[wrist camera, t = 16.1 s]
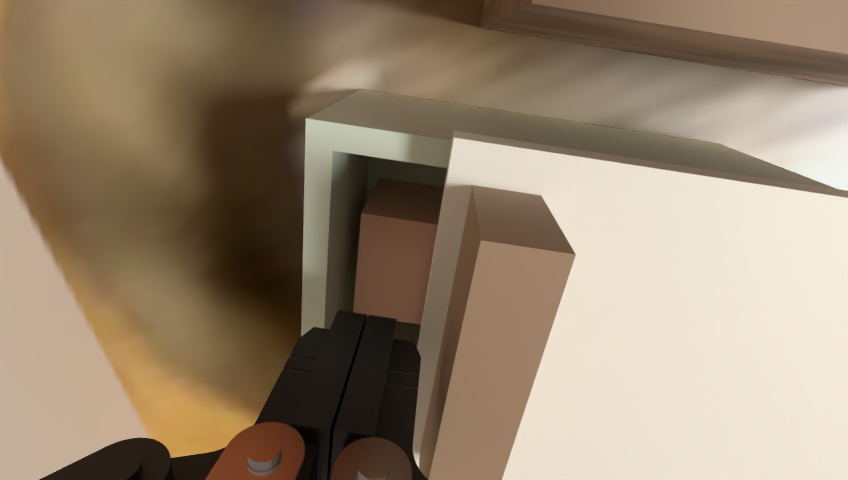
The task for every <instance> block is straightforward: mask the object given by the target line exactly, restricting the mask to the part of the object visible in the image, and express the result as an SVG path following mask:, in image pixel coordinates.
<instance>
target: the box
mask: <svg viewBox="0 0 848 480" xmlns="http://www.w3.org/2000/svg"><path fill="white" fill-rule="evenodd" d="M454 131H459V132H466V133H472V134H479V135H485V136H492V137H498V138H505V139H511V140H518V141H524V142H531V143H537V144H544V145H551V146H557V147H564V148H570V149H577V150H583V151H590V152H596V153H603V154H609V155H616V156H622V157H629V158H636V159H642V160H649V161H655V162H662V163H668V164H675V165H681V166H688V167H694V168H701V169H707V170H714V171H721V172H727V173H734V174H740V175H747V176H753V177H760V178H766V179H773V180H779V181H786V182H792V183H799V184H806V185H812V186H819V187H825V188H832V189H836V188H833V187H830V186H828V185H825V184H823V183H820V182H817V181H815V180H812V179H810V178H807V177H804V176H802V175H799V174H797V173H794V172H791V171H789V170H786V169H784V168H781V167H778V166H776V165H773V164H771V163H768V162H765V161H763V160H760V159H757V158H755V157H752V156H750V155H747V154H744V153H742V152H739V151H737V150H734V149H731V148H729V147H726V146H724V145H721V144H715V143H709V142H702V141H696V140H689V139H683V138H676V137H669V136H663V135H656V134H650V133H643V132H637V131H630V130H624V129H617V128H611V127H604V126H598V125H591V124H585V123H578V122H572V121H565V120H559V119H552V118H546V117H539V116H533V115H526V114H520V113H513V112H507V111H500V110H493V109H487V108H480V107H474V106H467V105H461V104H454V103H448V102H441V101H435V100H428V99H422V98H415V97H409V96H402V95H396V94H389V93H383V92H376V91H370V90H363V89H360V90H358V91H356V92H354V93H352V94H350V95H348V96H346V97H345V98H343V99H341V100H339V101H337V102H335V103H333V104H332V105H330V106H328V107H326V108H324V109H322V110H320V111H318V112H317V113H315V114H313V115H311V116H309V117H307V118H306V127H305V176H304V226H303V275H302V324H301V336H303V335H304V334H305V333H306V332H308V331H309V330H310V329H312V328H313V327H318V328H325V329H330V328H331V325H332V323H333V321H334V318H335V316H336V314H337V312H338V310H342V311H349V312H353V308H354V295H355V283H356V271H357V259H358V247H359V235H360V223H361V213H362V211H363V209H364V207H365V205H366V203H367V201H368V199H369V197H370V195H371V193H372V192H373V190H374V188H375V186H376V184H377V182H378V180H379V178H387V179H393V180H400V181H407V182H413V183H420V184H426V185H433V186H439V187H444V186H445V180H446V174H447V168H448V162H449V156H450V150H451V144H452V138H453V132H454ZM367 318H368V317H367ZM420 329H421V325H419V324H412V323H406V322H399V321H397V323H396V330H395V337H394V339H398V340H404V341H411V342H414V343H415V345H416V347H418V341H419V335H420Z"/></svg>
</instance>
